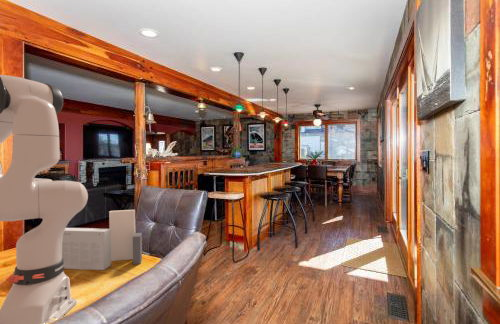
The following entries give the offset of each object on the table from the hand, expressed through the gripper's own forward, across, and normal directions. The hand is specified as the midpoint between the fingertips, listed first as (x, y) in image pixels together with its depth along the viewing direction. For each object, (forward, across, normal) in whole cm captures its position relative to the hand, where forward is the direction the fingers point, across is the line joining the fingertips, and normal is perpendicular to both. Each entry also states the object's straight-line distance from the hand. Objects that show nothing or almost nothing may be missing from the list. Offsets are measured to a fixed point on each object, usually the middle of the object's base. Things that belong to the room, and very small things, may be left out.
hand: (55, 186), depth 111 cm
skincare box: (+10, 0, +34) cm, 36 cm away
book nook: (+26, +1, +34) cm, 43 cm away
